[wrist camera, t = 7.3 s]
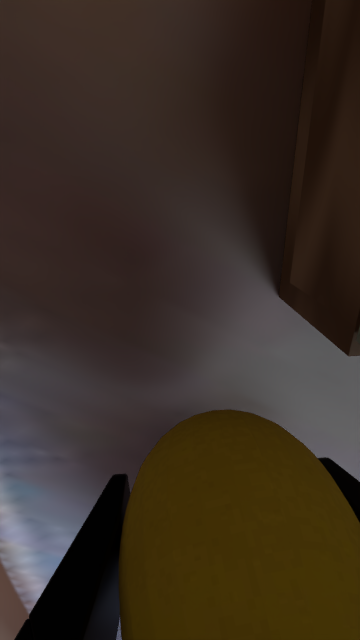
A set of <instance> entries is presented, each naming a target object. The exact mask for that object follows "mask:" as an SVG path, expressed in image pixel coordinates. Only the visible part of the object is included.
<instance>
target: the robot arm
mask: <svg viewBox="0 0 360 640" xmlns="http://www.w3.org/2000/svg"><path fill="white" fill-rule="evenodd" d="M317 459H318V460H319V461H320V462H321V463H322V464H323V466H324V467H325V468H326V470H327V471H328V472H329V474H330V475H331V476H332V478H333V479H334V481H335V482H336V484H337V486H338V487H339V489H340V490H341V492H342V493H343V495H344V497H345V498H346V500H347V501H348V503H349V505H350V506H351V508H352V510H353V512H354V513H355V515H356V517H357V519H358V521H359V522H360V482H359V481H358V480H357V479H355V478H354V477H353V476H352V475H350V474H349V473H348V472H346V471H345V470H344V469H343V468H341V467H340V466H339V465H338V464H336V463H335V462H334V461H332V460H331V459H329V458H326V457H324V458H317ZM129 497H130V489H129V482H128V476H127V474H115V475H113V476H112V477H111V479H110V480H109V482H108V484H107V485H106V487H105V489H104V490H103V492H102V494H101V495H100V497H99V499H98V500H97V502H96V504H95V505H94V507H93V509H92V510H91V512H90V514H89V515H88V517H87V519H86V521H85V522H84V524H83V526H82V527H81V529H80V531H79V532H78V534H77V536H76V537H75V539H74V541H73V542H72V544H71V546H70V547H69V549H68V551H67V552H66V554H65V556H64V557H63V559H62V561H61V562H60V564H59V566H58V567H57V569H56V571H55V572H54V574H53V576H52V578H51V579H50V581H49V583H48V584H47V586H46V588H45V589H44V591H43V593H42V594H41V596H40V598H39V599H38V601H37V603H36V604H35V606H34V608H33V609H32V611H31V613H30V615H29V619H27V620H26V621H25V622H24V624H23V626H22V628H21V629H20V631H19V633H18V634H17V636H16V638H15V639H14V640H116V637H117V631H118V624H119V617H120V604H119V552H120V540H121V533H122V526H123V521H124V516H125V511H126V508H127V504H128V501H129Z"/></svg>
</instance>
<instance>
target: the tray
mask: <svg viewBox="0 0 360 640" xmlns="http://www.w3.org/2000/svg"><path fill="white" fill-rule="evenodd" d="M279 297H280V298H281V299H282V300H283V301H284V302H285V303H287V304H288V305H289V306H290V307H291V308H293V309H294V310H295V311H296V312H297V313H298V314H300V315H301V316H302V317H303V318H304V319H305V320H307V321H308V322H309V323H310V324H311V325H312V326H314V327H315V328H316V329H317V330H318V331H319V332H321V333H322V334H323V335H324V336H325V337H326V338H328V339H329V340H330V341H331V342H332V343H333V344H335V345H336V346H337V347H338V348H339V349H340V350H342V351H343V352H344V353H345V354H346V355H348V356H360V343H358V342H357V341H356V340H357V335H358V331H359V327H360V0H312V9H311V17H310V26H309V35H308V44H307V53H306V61H305V70H304V79H303V88H302V97H301V105H300V114H299V123H298V132H297V141H296V149H295V158H294V167H293V176H292V185H291V193H290V202H289V211H288V220H287V229H286V237H285V246H284V255H283V264H282V273H281V281H280V290H279Z"/></svg>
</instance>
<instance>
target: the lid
mask: <svg viewBox="0 0 360 640" xmlns="http://www.w3.org/2000/svg"><path fill="white" fill-rule="evenodd" d="M356 341H357V342H358V343H360V327H359V331H358V335H357V340H356Z"/></svg>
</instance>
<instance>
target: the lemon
mask: <svg viewBox="0 0 360 640" xmlns="http://www.w3.org/2000/svg"><path fill="white" fill-rule="evenodd" d="M119 604H120V623H121V635H122V640H360V522H359V521H358V519H357V517H356V515H355V513H354V512H353V510H352V508H351V506H350V505H349V503H348V501H347V500H346V498H345V497H344V495H343V493H342V492H341V490H340V489H339V487H338V486H337V484H336V482H335V481H334V479H333V478H332V476H331V475H330V474H329V472H328V471H327V470H326V468H325V467H324V466H323V464H322V463H321V462H320V461H319V460H318V459H317V457H316V456H315V455H314V454H313V453H312V452H311V451H310V450H309V449H308V448H307V447H306V446H305V445H304V444H303V443H302V442H300V441H299V440H298V439H296V438H295V437H294V436H293V435H291V434H290V433H289V432H287V431H286V430H285V429H283V428H282V427H281V426H279V425H278V424H276V423H274V422H272V421H270V420H267V419H265V418H263V417H260V416H258V415H255V414H252V413H248V412H243V411H236V410H213V411H209V412H205V413H201V414H197V415H194V416H192V417H190V418H188V419H186V420H184V421H182V422H180V423H179V424H178V425H176V426H175V427H174V428H173V429H171V430H170V431H169V432H167V433H166V434H165V435H164V436H163V437H162V438H161V439H160V440H159V441H158V443H157V444H156V445H155V447H154V448H153V449H152V451H151V452H150V453H149V455H148V456H147V457H146V459H145V460H144V462H143V464H142V466H141V468H140V470H139V473H138V475H137V478H136V481H135V483H134V486H133V489H132V492H131V494H130V497H129V501H128V504H127V508H126V511H125V516H124V521H123V526H122V533H121V540H120V552H119Z"/></svg>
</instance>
